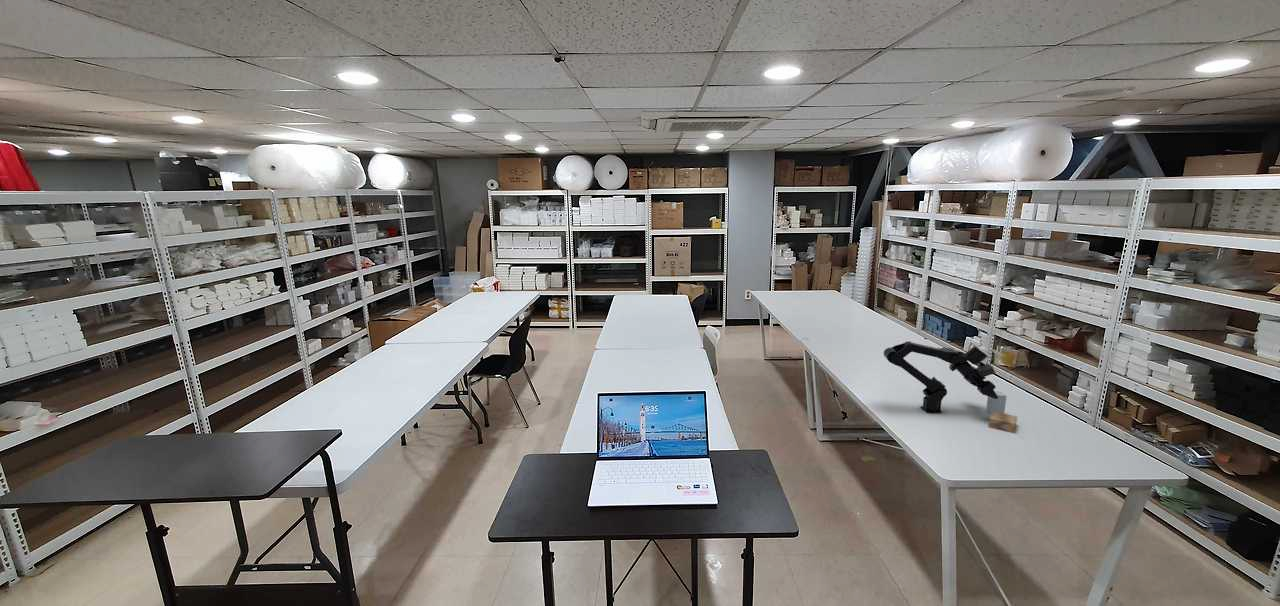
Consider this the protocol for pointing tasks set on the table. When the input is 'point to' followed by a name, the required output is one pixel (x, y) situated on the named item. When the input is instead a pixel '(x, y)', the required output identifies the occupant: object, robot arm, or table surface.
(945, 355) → the robot arm
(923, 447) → the table surface
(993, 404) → the slate block
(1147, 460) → the table surface
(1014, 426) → the tan flat square block
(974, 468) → the table surface
